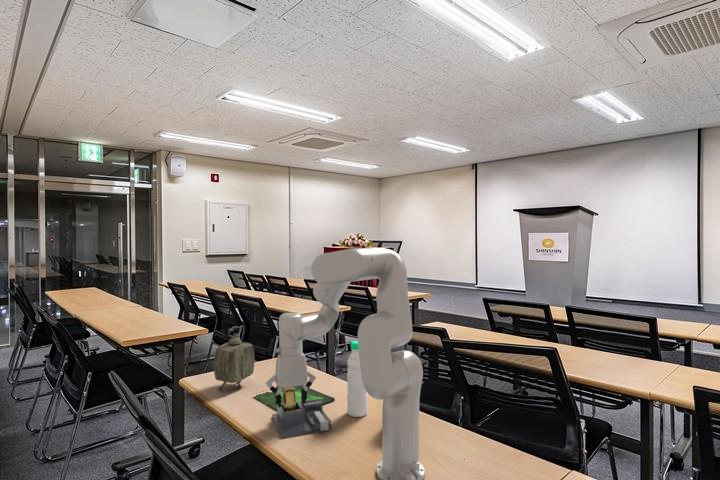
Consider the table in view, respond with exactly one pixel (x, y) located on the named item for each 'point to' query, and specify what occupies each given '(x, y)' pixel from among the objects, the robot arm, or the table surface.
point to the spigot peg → (289, 399)
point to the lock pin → (321, 421)
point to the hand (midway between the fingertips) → (291, 403)
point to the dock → (299, 419)
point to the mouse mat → (270, 401)
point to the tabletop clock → (233, 361)
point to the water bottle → (355, 385)
